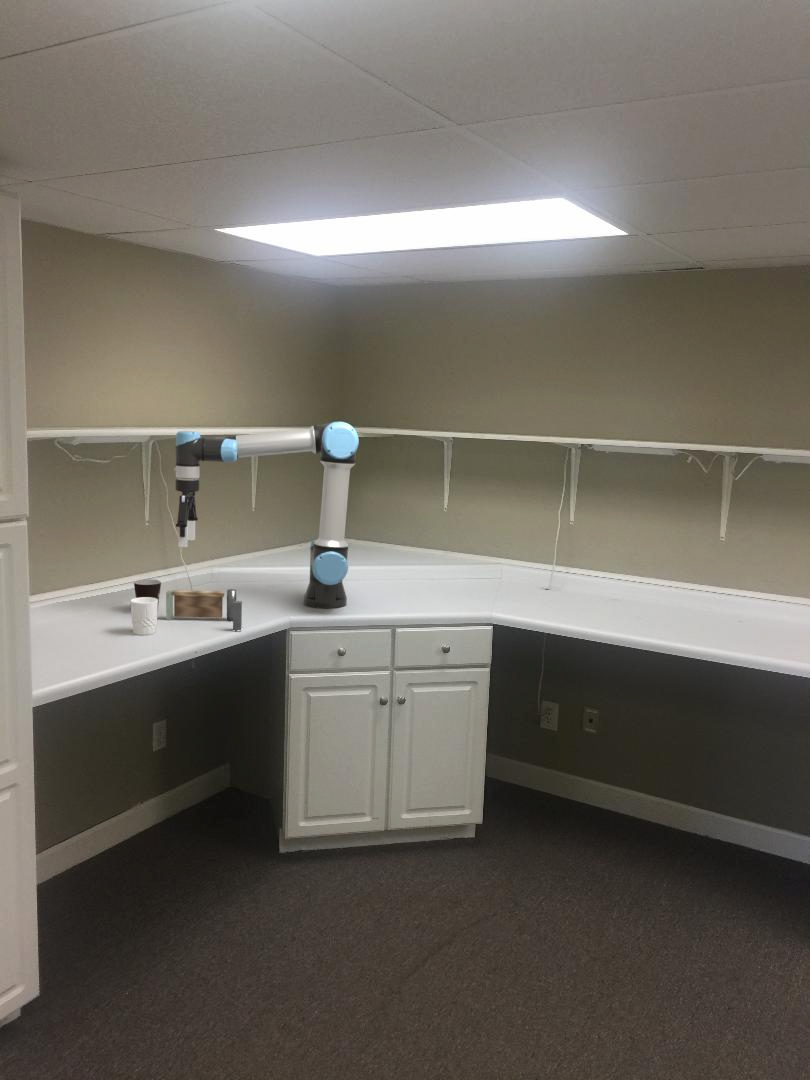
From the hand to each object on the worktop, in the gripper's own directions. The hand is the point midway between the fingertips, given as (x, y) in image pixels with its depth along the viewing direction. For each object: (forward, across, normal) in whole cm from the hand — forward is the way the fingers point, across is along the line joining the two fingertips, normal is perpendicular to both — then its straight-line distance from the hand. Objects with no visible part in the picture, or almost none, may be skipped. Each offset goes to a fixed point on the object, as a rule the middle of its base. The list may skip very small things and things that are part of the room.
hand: (186, 543), depth 284 cm
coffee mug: (+23, 0, -12) cm, 26 cm away
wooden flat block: (+22, +10, +6) cm, 25 cm away
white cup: (+23, +26, -8) cm, 36 cm away
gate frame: (+23, +15, +8) cm, 29 cm away
